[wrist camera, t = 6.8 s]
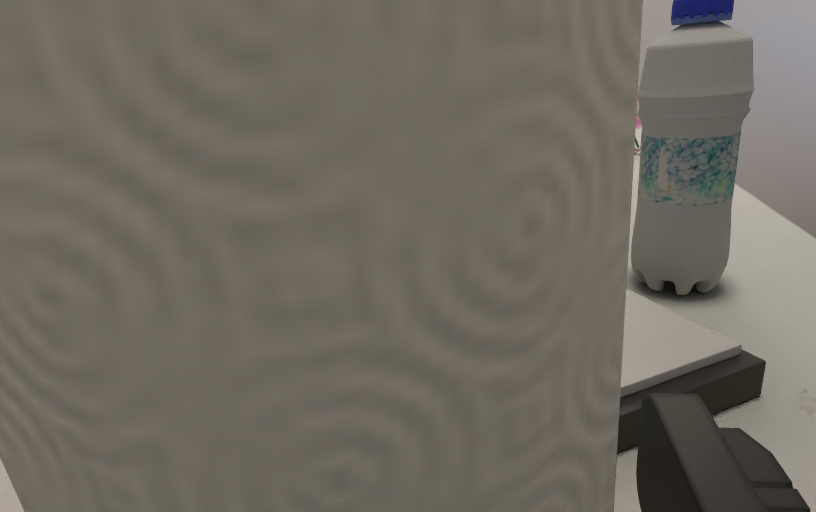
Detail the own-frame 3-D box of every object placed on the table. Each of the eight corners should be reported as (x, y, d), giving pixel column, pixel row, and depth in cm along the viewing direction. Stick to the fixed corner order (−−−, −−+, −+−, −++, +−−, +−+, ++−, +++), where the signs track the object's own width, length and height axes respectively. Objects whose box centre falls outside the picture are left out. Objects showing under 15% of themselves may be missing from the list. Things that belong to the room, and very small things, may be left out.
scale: (580, 294, 39) (580, 262, 38) (761, 395, 27) (768, 350, 26) (373, 353, 34) (368, 316, 33) (480, 509, 22) (477, 458, 21)
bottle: (664, 259, 44) (687, -11, 37) (748, 284, 39) (793, -28, 31) (607, 281, 41) (620, -8, 34) (689, 311, 36) (724, -26, 29)
